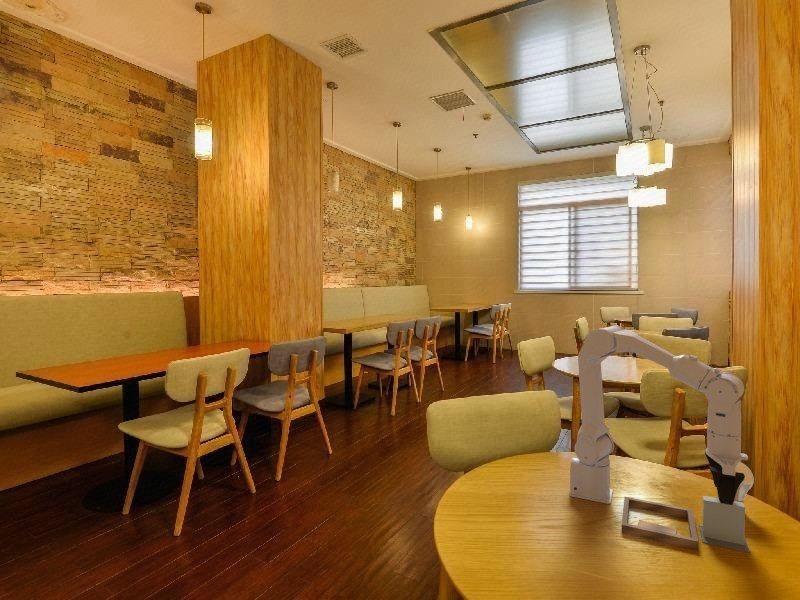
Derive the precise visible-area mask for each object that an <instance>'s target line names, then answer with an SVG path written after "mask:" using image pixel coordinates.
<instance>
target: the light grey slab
mask: <svg viewBox="0 0 800 600" xmlns="http://www.w3.org/2000/svg"><path fill="white" fill-rule="evenodd" d="M743 503H744V502H743ZM743 503H742V502H736V501H734V502H733V505H728V504H723V503H720V501H719V498H718V497H713V496H707V495H702V526H703V536H704V537H708V538H713V539H717V540H722V541H727V542H731V543H736V544H741V545H745V539H746V537H745V536H746V533H745V532H746V531H745V530H746V507H745V504H743Z"/></svg>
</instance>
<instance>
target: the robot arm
mask: <svg viewBox="0 0 800 600" xmlns="http://www.w3.org/2000/svg"><path fill="white" fill-rule="evenodd" d="M614 353H617V354H618V353H634V354H637V355H638V356H640V357H643V358H645V359H646V360H647V359H648V360H649V361H651V362H653V363H655V364H658V365H659V366H661V367H664V368H666V369H668V372H669V374H670V376H671V377H672V378H673V379H675V380H676V381H679V382H681V383H683V384H685V385H686V386H688V387H690V388H692V389H693V390H694V389H695V390H697V391H698V392H700V393H703V394H704V396H705V398H706V399H707V402H708V403H707V405H708V407H707V423H706V424H707V426H706V427H707V435H706V441H707V442H706V443H707V444H706V449H705V451H704V455H705V457H706V458H707V460H708V462H709V463H708V464H709V465H710V466H709V472H710V473H711V475H712V481H713V483H714V484H713V485H714V487H715V488H716V492H717V493H716V494H717V498H719V501H720V503H723V504H728V505H733V502H734V499H735V496H736V492H737V489H738V487H739V485H740V484H741V483H742V481H743V480H744V479H745V475H744V473H738V472H735V467H736V466H737V465H738V463H739V462H742V461H748V460H749V456H748V455H747V454H746V453H743V452H742V411H741V407H742V405H741V403H742V401H741V399H740V398H741V397H742V396H743V394H744V392H745V385H744V383H743V380H741V378H740V377H738V376H737V375H735V374H734V373H732V372H727V371H724V372H722V369H721V368H718V367H715V368H714V367H712V366H709V365H708V364H706V363H703V362H702V361H700V360H698V358H699V357H698V356H696V355H694V354H691V355H687V354H680V355H674V354H673V353H671V352H670V351H668V350H666V349H664V348H662V347H660V346H659V345H657V344H655V343H653V342H651V341H649V340H648V339H646V338H644V337H643V336H641V335H639V334H637V333H636V332H634V331H632V330H630V329H625V328H624V327H622V326H620V325H616V324H615V325H609V326H607V327H602V328H596V329H593V330H592V331H591V332H590V333H589V334H587V335H586V336H585V337H584V343H583V344H582V346H581V349H580V351H579V352H578V355H577V362H578V364H577V365H578V377H579V378H578V379H579V393H580V396H579V397H580V409H581V410H580V411H581V425H580V426H579V427H580V428H579V429H578V432H577V434H576V436H577V437H576V438H577V439H576V442H575V444H574V453H575V456H576V457H575V456H573V457H571V459H570V464H569V465H570V467H569V471H570V472H569V474H570V475H569V485H570V488H569V489H570V491H569V492H570V493H569V495H570V497H573V498H577V499H582V500H586V501H592V502H595V503H602V504H605V505H611V503H612V497H613V493H614V490H613V489H612V488H611V465H610V464H611V463H610V462H611V459H610V455H611V454H612V453H613V452H614V448H615V443H614V441H613V439H612V437H611V434H610V428H609V427H608V425H607V424H606V423H605V422H606V421H605V406H604V392H603V389H604V388H603V375H602V362H603V361H605V360H606V359H608V357H610V356H611V355H612V354H614Z"/></svg>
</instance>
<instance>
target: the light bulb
mask: <svg viewBox="0 0 800 600" xmlns="http://www.w3.org/2000/svg"><path fill="white" fill-rule="evenodd" d="M735 472H738V473H744V475H745V479H744V480H743V481H742V483H741V484H740V485H739V487H738V489H737V492H736V496H735V499H734V501H736V502H742V503H743V504H744V502H745V501H744V500H745V498H746V495H747V493H748V491H749V490H751V488H752V487H753V485H754V481H755V480H754V475H753V472H752V470H751V469H750V468H749V466H747V465H746V464H745V463H743V462H742V461H740V462H739V463H738V465H737V466H736V467H735ZM744 505H745V504H744Z"/></svg>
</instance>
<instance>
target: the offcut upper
mask: <svg viewBox="0 0 800 600" xmlns="http://www.w3.org/2000/svg"><path fill="white" fill-rule="evenodd" d="M636 526H640V527H645V528H649V529H654V530H659V531H663V532H668V533H672V534H677V533H678V532H677V528H674V527H670V526H666V525H662V524H658V523H654V522H650V521H647V520H642V519H638V522H637V525H636Z"/></svg>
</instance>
